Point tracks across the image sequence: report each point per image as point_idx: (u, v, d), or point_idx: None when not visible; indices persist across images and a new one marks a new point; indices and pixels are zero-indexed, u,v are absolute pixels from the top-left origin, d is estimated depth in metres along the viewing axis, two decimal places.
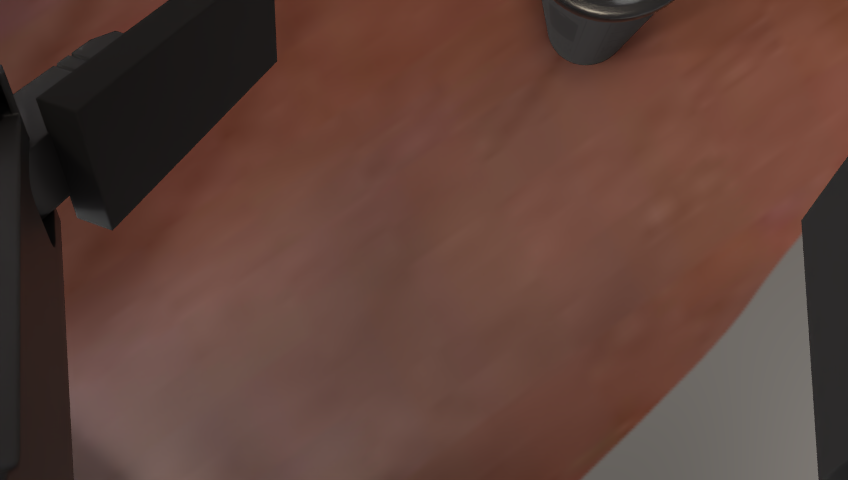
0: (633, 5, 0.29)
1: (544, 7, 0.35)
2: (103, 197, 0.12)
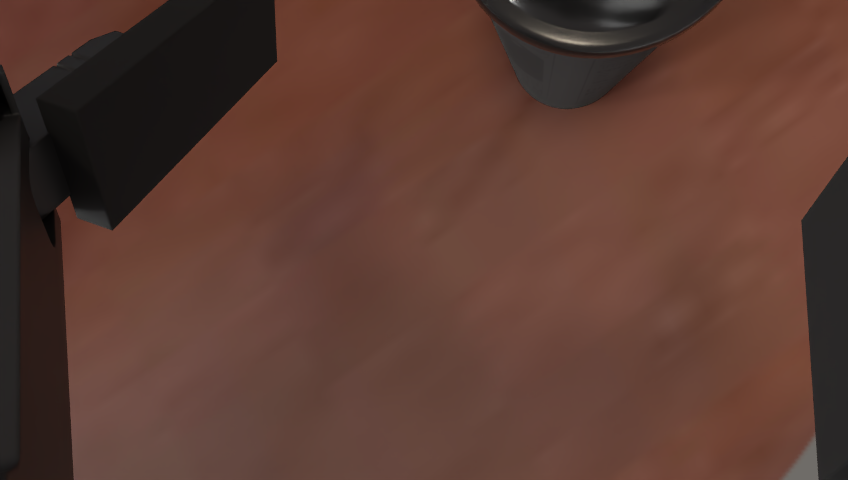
0: (631, 29, 0.17)
1: None
2: (103, 197, 0.12)
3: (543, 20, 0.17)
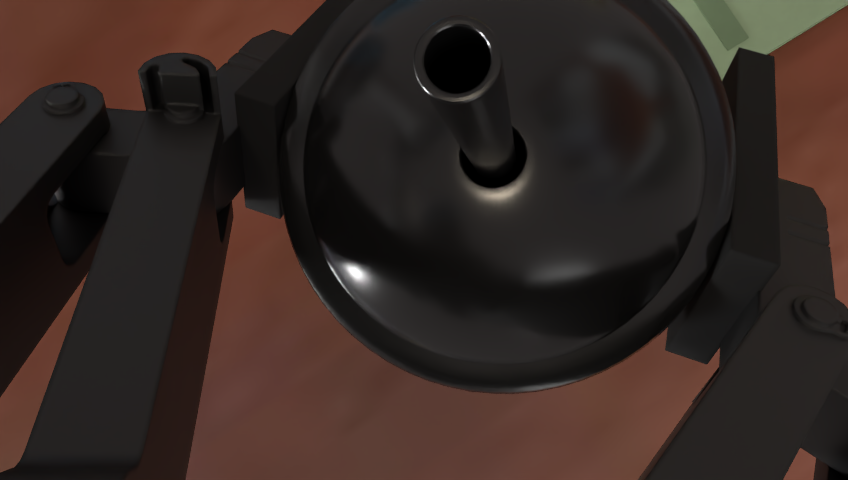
0: (536, 364, 0.11)
1: None
2: None
3: (409, 343, 0.12)
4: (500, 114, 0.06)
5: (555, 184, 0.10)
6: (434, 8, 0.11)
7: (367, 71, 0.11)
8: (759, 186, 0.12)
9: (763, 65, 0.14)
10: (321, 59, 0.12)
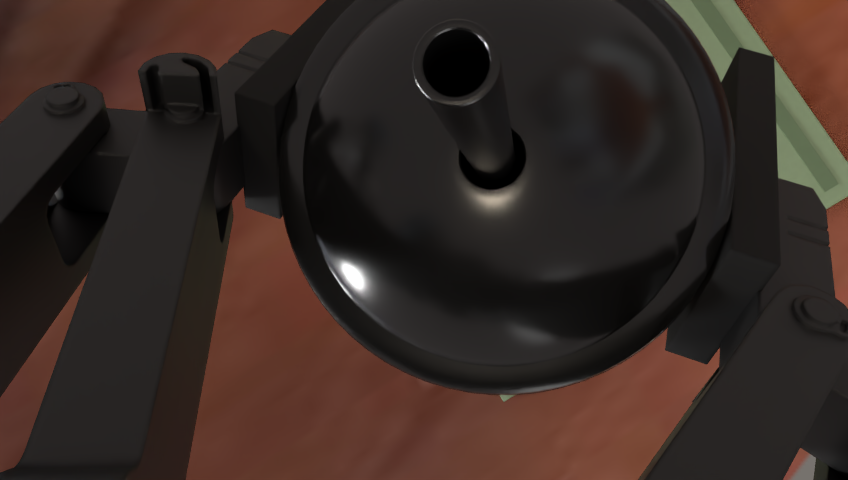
0: (535, 365, 0.11)
1: None
2: None
3: (409, 344, 0.12)
4: (499, 117, 0.06)
5: (554, 186, 0.10)
6: (433, 10, 0.11)
7: (367, 72, 0.11)
8: (759, 186, 0.12)
9: (763, 65, 0.14)
10: (320, 60, 0.12)
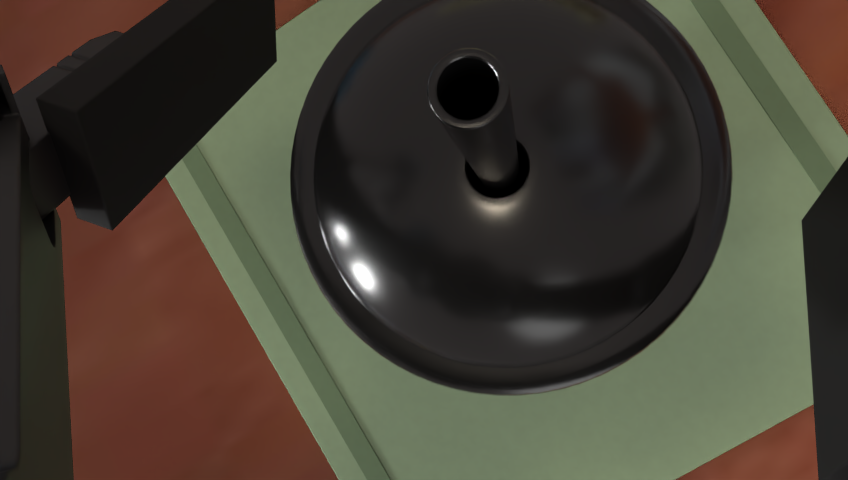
0: (538, 367, 0.12)
1: None
2: (103, 197, 0.12)
3: (416, 347, 0.12)
4: (506, 135, 0.07)
5: (557, 194, 0.11)
6: (440, 24, 0.12)
7: (376, 85, 0.12)
8: None
9: None
10: (331, 72, 0.12)
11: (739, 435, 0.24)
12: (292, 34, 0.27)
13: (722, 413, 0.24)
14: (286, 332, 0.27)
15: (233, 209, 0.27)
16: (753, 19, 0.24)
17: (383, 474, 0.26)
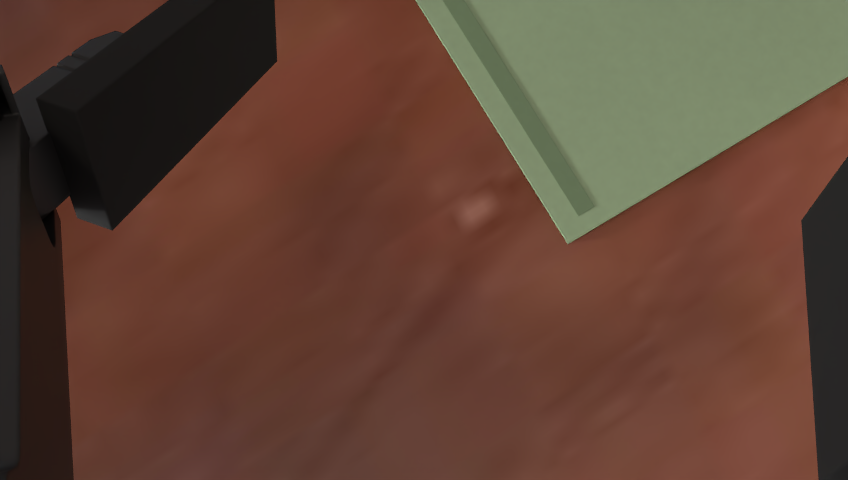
0: None
1: None
2: (103, 197, 0.12)
3: None
4: None
5: None
6: None
7: None
8: None
9: None
10: None
11: None
12: None
13: (835, 49, 0.28)
14: (451, 7, 0.31)
15: None
16: None
17: (537, 122, 0.30)
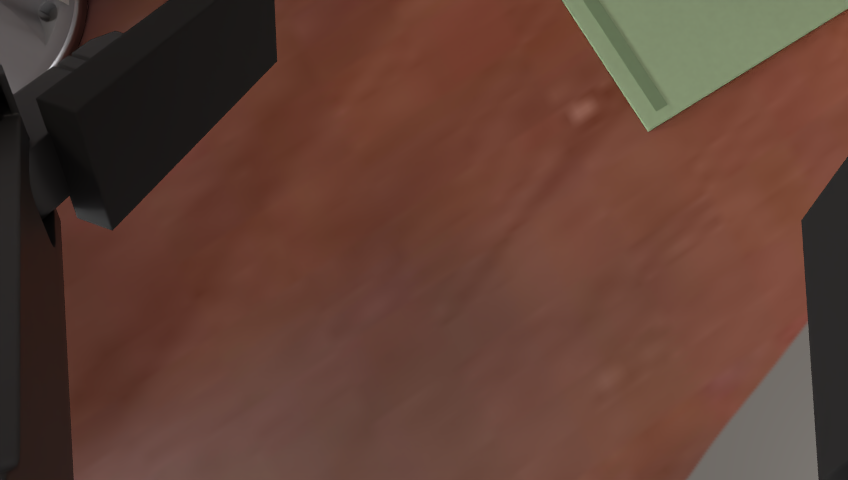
0: None
1: None
2: (103, 197, 0.12)
3: None
4: None
5: None
6: None
7: None
8: None
9: None
10: None
11: (843, 5, 0.42)
12: None
13: None
14: None
15: None
16: None
17: (626, 46, 0.43)
